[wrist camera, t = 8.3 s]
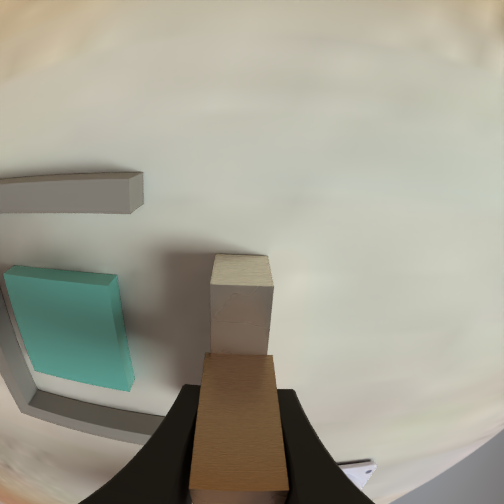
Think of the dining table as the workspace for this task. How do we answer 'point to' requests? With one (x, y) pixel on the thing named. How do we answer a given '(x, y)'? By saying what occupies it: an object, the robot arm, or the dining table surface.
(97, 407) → the frame
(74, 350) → the tile
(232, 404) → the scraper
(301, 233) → the dining table surface
